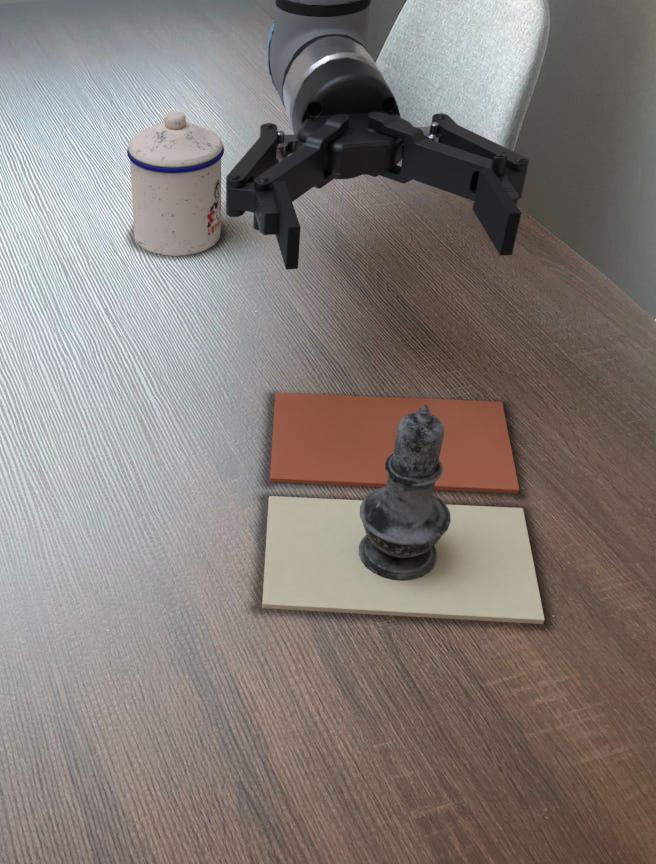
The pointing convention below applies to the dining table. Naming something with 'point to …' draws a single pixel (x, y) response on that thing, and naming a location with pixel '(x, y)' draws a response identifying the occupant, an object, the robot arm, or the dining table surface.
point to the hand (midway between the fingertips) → (402, 241)
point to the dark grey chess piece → (407, 504)
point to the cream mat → (423, 597)
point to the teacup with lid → (176, 187)
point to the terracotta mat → (387, 441)
